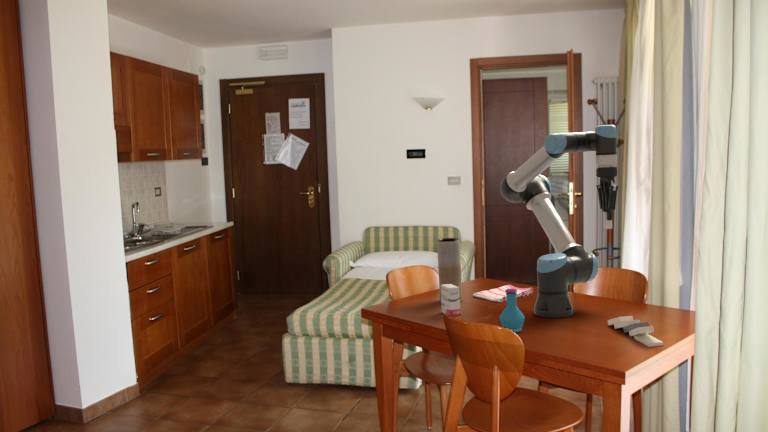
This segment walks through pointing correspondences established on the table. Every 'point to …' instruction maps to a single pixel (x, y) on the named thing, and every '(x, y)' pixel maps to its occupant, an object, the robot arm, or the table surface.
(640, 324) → the domino
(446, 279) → the vase
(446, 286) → the ink box
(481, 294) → the dish towel
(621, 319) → the domino head
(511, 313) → the perfume bottle
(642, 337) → the domino tail
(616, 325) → the domino
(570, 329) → the table surface
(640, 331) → the domino
